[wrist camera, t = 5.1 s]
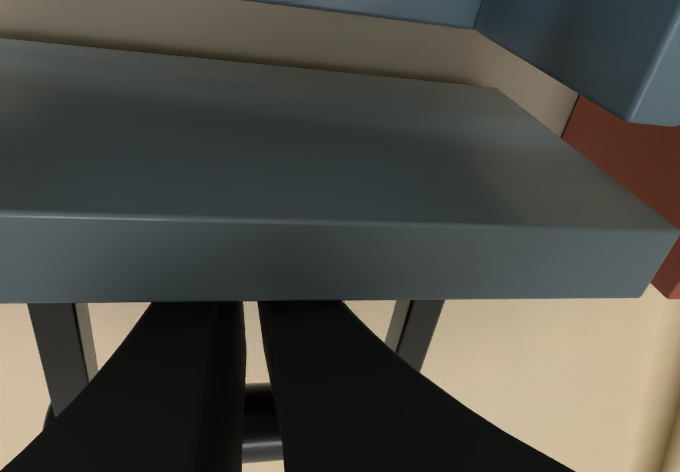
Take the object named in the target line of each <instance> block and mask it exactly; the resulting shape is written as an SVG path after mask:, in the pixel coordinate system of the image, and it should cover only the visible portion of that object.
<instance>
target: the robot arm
mask: <svg viewBox="0 0 680 472" xmlns="http://www.w3.org/2000/svg"><path fill="white" fill-rule="evenodd" d="M257 302H258V310H259V317H260V324H261V332H262V339H263V347H264V353H265V358H266V363H267V368H268V373H269V378H270V383H271V388H272V393H273V398H274V403H275V408H276V413H277V418H278V423H279V428H280V433H281V439H282V449H283V459H284V470H285V472H575V471H573V470H572V469H570V468H568V467H566V466H565V465H563V464H561V463H559V462H557V461H556V460H554V459H552V458H550V457H549V456H547V455H545V454H543V453H541V452H540V451H538V450H536V449H534V448H533V447H531V446H529V445H527V444H525V443H524V442H522V441H520V440H518V439H517V438H515V437H513V436H511V435H509V434H508V433H506V432H504V431H503V430H501V429H500V428H498V427H496V426H495V425H493V424H492V423H490V422H489V421H487V420H486V419H484V418H483V417H481V416H480V415H478V414H476V413H475V412H473V411H472V410H470V409H469V408H467V407H466V406H464V405H463V404H462V403H460V402H459V401H458V400H456V399H455V398H454V397H452V396H451V395H449V394H448V393H447V392H445V391H444V390H443V389H441V388H440V387H439V386H437V385H436V384H434V383H433V382H432V381H430V380H429V379H428V378H426V377H425V376H424V375H422V374H421V373H419V372H418V371H417V370H416V369H414V368H413V367H412V366H411V365H409V364H408V363H407V362H406V361H405V360H404V359H402V358H401V357H400V356H399V355H398V354H396V353H395V352H394V351H393V350H392V349H390V348H389V347H388V346H387V345H386V344H385V343H384V342H383V341H382V340H381V339H380V338H378V337H377V336H376V335H375V334H374V333H373V332H372V331H371V330H370V329H369V328H368V327H367V326H366V325H365V324H364V323H363V322H362V321H361V320H360V319H359V318H358V317H357V316H356V315H355V314H354V313H353V312H352V311H351V310H350V309H349V308H348V306H347V305H346V304H345V303H344V302H343V301H342V300H336V301H257ZM245 377H246V337H245V323H244V309H243V301H222V302H151V304H150V305H149V307H148V308H147V310H146V311H145V312H144V314H143V315H142V316H141V318H140V319H139V320H138V322H137V323H136V325H135V326H134V327H133V329H132V330H131V331H130V333H129V334H128V336H127V337H126V338H125V340H124V341H123V342H122V344H121V345H120V346H119V347H118V349H117V350H116V351H115V352H114V354H113V355H112V356H111V357H110V359H109V360H108V361H107V362H106V363H105V365H104V366H103V367H102V368H101V369H100V370H99V372H98V373H97V374H96V375H95V376H94V377H93V378H92V380H91V381H90V382H89V383H88V384H87V385H86V386H85V387H84V389H83V390H82V391H81V392H80V393H79V394H78V395H77V396H76V397H75V398H74V399H73V400H72V401H71V402H70V403H69V405H68V406H67V407H66V408H65V409H64V410H63V411H62V412H61V413H60V414H59V415H58V416H57V417H56V418H55V419H54V420H53V421H52V422H51V423H50V424H49V425H48V426H47V427H46V428H45V429H44V430H43V431H42V432H41V433H40V434H39V435H38V436H37V437H36V438H35V439H34V440H33V441H32V442H31V443H30V444H29V445H28V446H27V447H26V448H25V449H24V450H23V451H22V452H21V453H19V454H18V455H17V456H16V457H15V458H14V459H13V460H12V461H11V462H10V463H8V464H7V465H6V466H5V467H4V468H3V469H2V470H1V471H0V472H242V445H243V423H244V400H245Z"/></svg>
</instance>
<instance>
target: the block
mask: <svg viewBox="0 0 680 472" xmlns="http://www.w3.org/2000/svg"><path fill="white" fill-rule="evenodd" d="M562 139H563V140H564V141H565V142H567V143H568V144H569V145H570V146H572V147H573V148H574V149H576V150H577V151H578V152H579V153H581V154H582V155H583V156H585V157H586V158H587V159H588V160H590V161H591V162H592V163H594V164H595V165H596V166H598V167H599V168H600V169H601V170H603V171H604V172H605V173H607V174H608V175H609V176H610V177H612V178H613V179H614V180H616V181H617V182H618V183H619V184H621V185H622V186H623V187H625V188H626V189H627V190H628V191H630V192H631V193H632V194H634V195H635V196H636V197H638V198H639V199H640V200H641V201H643V202H644V203H645V204H647V205H648V206H649V207H650V208H652V209H653V210H654V211H656V212H657V213H658V214H659V215H661V216H662V217H663V218H665V219H666V220H667V221H669V222H670V223H671V224H672V225H674V226H675V227H676V228H678V229H679V230H680V125H679V126H676V127H670V126H658V125H647V124H636V123H626V122H625V121H623V120H621V119H620V118H618V117H616V116H615V115H613V114H611V113H610V112H608V111H606V110H605V109H603V108H602V107H600V106H598V105H597V104H595V103H593V102H592V101H590V100H588V99H587V98H585V97H584V96H582V95H580V96H579V98H578V101H577V103H576V106H575V108H574V110H573V113H572V115H571V118H570V120H569V122H568V125H567V127H566V130H565V132H564V134H563V137H562ZM650 283H651V284H652V285H653V286H654V287H655V288H656V289H657V290H658V291H659V292H661V293H662V294H663V295H664V296H665V297H666V298H667V299H680V235H679V237H678V239H677V240H676V242H675V243H674V245H673V247H672V248H671V250H670V251H669V253H668V255H667V256H666V258H665V259H664V261H663V263H662V264H661V266H660V267H659V269H658V271H657V272H656V274H655V275H654V277H653V279H652V280H651V282H650Z"/></svg>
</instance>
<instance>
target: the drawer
mask: <svg viewBox="0 0 680 472" xmlns="http://www.w3.org/2000/svg"><path fill="white" fill-rule="evenodd" d="M244 1H252V2H260V3H268V4H276V5H284V6H291V7H299V8H307V9H315V10H323V11H330V12H338V13H346V14H354V15H362V16H369V17H377V18H385V19H393V20H401V21H408V22H416V23H424V24H432V25H440V26H447V27H455V28H463V29H471V30H476V31H477V32H479V33H480V34H482V35H483V36H485V37H487V38H488V39H490V40H492V41H493V42H495V43H497V44H498V45H500V46H502V47H503V48H505V49H506V50H508V51H510V52H511V53H513V54H515V55H516V56H518V57H520V58H521V59H523V60H524V61H526V62H528V63H529V64H531V65H533V66H534V67H536V68H538V69H539V70H541V71H543V72H544V73H546V74H547V75H549V76H551V77H552V78H554V79H556V80H557V81H559V82H561V83H562V84H564V85H565V86H567V87H569V88H570V89H572V90H574V91H575V92H577V93H579V94H580V95H582V96H584V97H585V98H587V99H588V100H590V101H592V102H593V103H595V104H597V105H598V106H600V107H602V108H603V109H605V110H606V111H608V112H610V113H611V114H613V115H615V116H616V117H618V118H620V119H621V120H623V121H625V122H626V123H636V124H647V125H658V126H670V127H676V126H679V125H680V0H244ZM679 235H680V230H679V229H678V228H676V227H675V226H674V225H672V224H671V223H670V222H669V221H667V220H666V219H665V218H663V217H662V216H661V215H659V214H658V213H657V212H656V211H654V210H653V209H652V208H650V207H649V206H648V205H647V204H645V203H644V202H643V201H641V200H640V199H639V198H638V197H636V196H635V195H634V194H632V193H631V192H630V191H628V190H627V189H626V188H625V187H623V186H622V185H621V184H619V183H618V182H617V181H616V180H614V179H613V178H612V177H610V176H609V175H608V174H607V173H605V172H604V171H603V170H601V169H600V168H599V167H598V166H596V165H595V164H594V163H592V162H591V161H590V160H588V159H587V158H586V157H585V156H583V155H582V154H581V153H579V152H578V151H577V150H576V149H574V148H573V147H572V146H570V145H569V144H568V143H567V142H565V141H564V140H563V139H561V138H560V137H559V136H557V135H556V134H555V133H554V132H552V131H551V130H550V129H548V128H547V127H546V126H545V125H543V124H542V123H541V122H539V121H538V120H537V119H536V118H534V117H533V116H532V115H530V114H529V113H528V112H527V111H525V110H524V109H523V108H521V107H520V106H519V105H517V104H516V103H515V102H514V101H512V100H511V99H510V98H508V97H507V96H506V95H505V94H503V93H502V92H501V91H499V90H498V89H497V88H494V87H484V86H474V85H464V84H454V83H444V82H434V81H424V80H414V79H404V78H394V77H384V76H374V75H364V74H353V73H343V72H333V71H323V70H313V69H303V68H293V67H283V66H273V65H263V64H253V63H243V62H233V61H223V60H213V59H203V58H193V57H183V56H173V55H163V54H153V53H143V52H133V51H123V50H113V49H103V48H93V47H83V46H73V45H63V44H53V43H43V42H33V41H23V40H13V39H3V38H0V303H27V305H28V309H29V314H30V318H31V322H32V326H33V330H34V334H35V338H36V342H37V346H38V350H39V354H40V358H41V362H42V366H43V370H44V374H45V378H46V382H47V387H48V391H49V395H50V399H51V403H50V405H49V407H48V410H47V413H46V417H45V420H44V425H43V430H44V429H45V428H46V427H47V426H48V425H49V424H50V423H51V422H52V421H53V420H54V419H55V418H56V417H57V416H58V415H59V414H60V413H61V412H62V411H63V410H64V409H65V408H66V407H67V406H68V405H69V403H70V402H71V401H72V400H73V399H74V398H75V397H76V396H77V395H78V394H79V393H80V392H81V391H82V390H83V389H84V387H85V386H86V385H87V384H88V383H89V382H90V381H91V380H92V378H93V377H94V376H95V375H96V374H97V373H98V366H97V360H96V354H95V348H94V341H93V335H92V329H91V323H90V316H89V310H88V304H87V303H109V302H222V301H336V300H397V301H396V304H395V308H394V311H393V315H392V319H391V322H390V326H389V329H388V333H387V336H386V340H385V344H386V345H387V346H388V347H389V348H390V349H392V350H393V351H394V352H395V353H396V354H398V355H399V356H400V357H401V358H402V359H404V360H405V361H406V362H407V363H408V364H409V365H411V366H412V367H413V368H414V369H416V370H417V371H418V372H419V373H420V371H421V368H422V365H423V362H424V359H425V356H426V353H427V350H428V348H429V345H430V342H431V339H432V336H433V333H434V330H435V327H436V325H437V322H438V319H439V316H440V313H441V310H442V307H443V304H444V302H445V300H449V299H562V298H639V297H641V296H642V295H643V293H644V291H645V290H646V288H647V287H648V285H649V283H650V282H651V280H652V279H653V277H654V275H655V274H656V272H657V271H658V269H659V267H660V266H661V264H662V263H663V261H664V259H665V258H666V256H667V255H668V253H669V251H670V250H671V248H672V247H673V245H674V243H675V242H676V240H677V239H678V237H679ZM279 460H284V459H283V449H282V439H281V433H280V428H279V423H278V418H277V413H276V408H275V403H274V398H273V393H272V388H271V383H248V384H245V400H244V423H243V445H242V463H255V462H267V461H279Z"/></svg>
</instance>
